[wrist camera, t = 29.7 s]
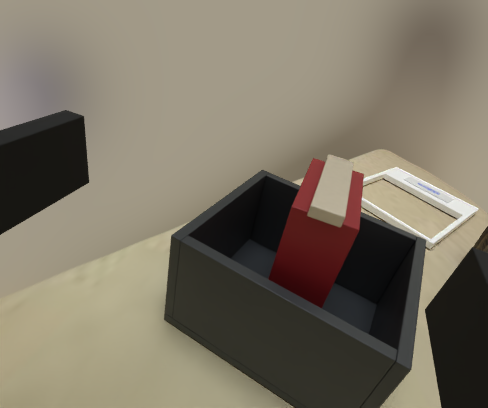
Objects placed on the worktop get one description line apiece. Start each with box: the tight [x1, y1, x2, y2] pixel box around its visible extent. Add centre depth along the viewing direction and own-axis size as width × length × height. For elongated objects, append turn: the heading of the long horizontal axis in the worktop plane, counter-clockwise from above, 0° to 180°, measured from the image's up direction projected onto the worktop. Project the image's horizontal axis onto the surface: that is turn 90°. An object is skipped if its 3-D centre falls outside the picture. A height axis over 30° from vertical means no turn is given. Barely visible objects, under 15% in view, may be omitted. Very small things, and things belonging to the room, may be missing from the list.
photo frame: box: [361, 167, 478, 249], centre depth 51 cm, size 15×1×18 cm
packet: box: [268, 155, 364, 308], centre depth 25 cm, size 4×8×13 cm, turn 161°
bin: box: [164, 170, 426, 408], centre depth 27 cm, size 16×14×9 cm
